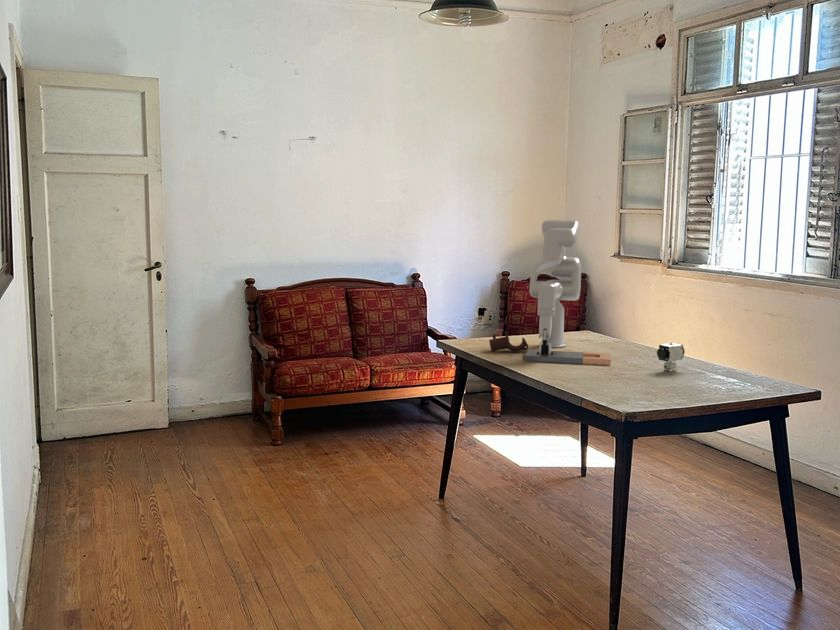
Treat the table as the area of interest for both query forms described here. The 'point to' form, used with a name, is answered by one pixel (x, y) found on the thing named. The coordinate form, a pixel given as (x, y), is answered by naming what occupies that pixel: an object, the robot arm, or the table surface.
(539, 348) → the grey rectangular block
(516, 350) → the bracket
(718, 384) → the table surface
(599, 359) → the grey copper flat plate
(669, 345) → the pneumatic valve
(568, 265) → the robot arm
